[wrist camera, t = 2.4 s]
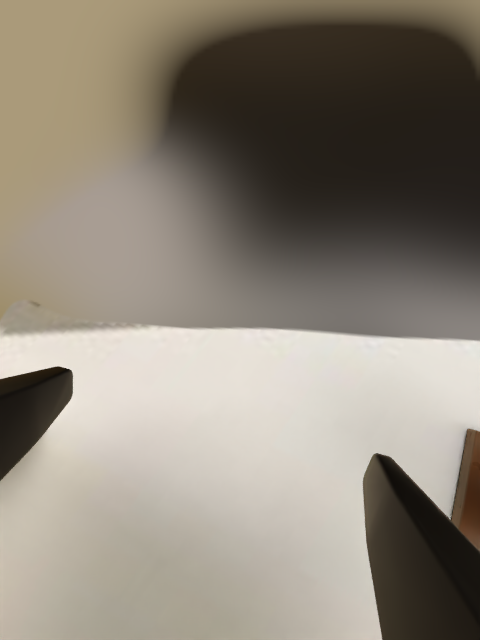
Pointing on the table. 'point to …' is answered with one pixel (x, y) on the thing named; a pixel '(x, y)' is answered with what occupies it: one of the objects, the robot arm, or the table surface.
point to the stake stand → (469, 491)
